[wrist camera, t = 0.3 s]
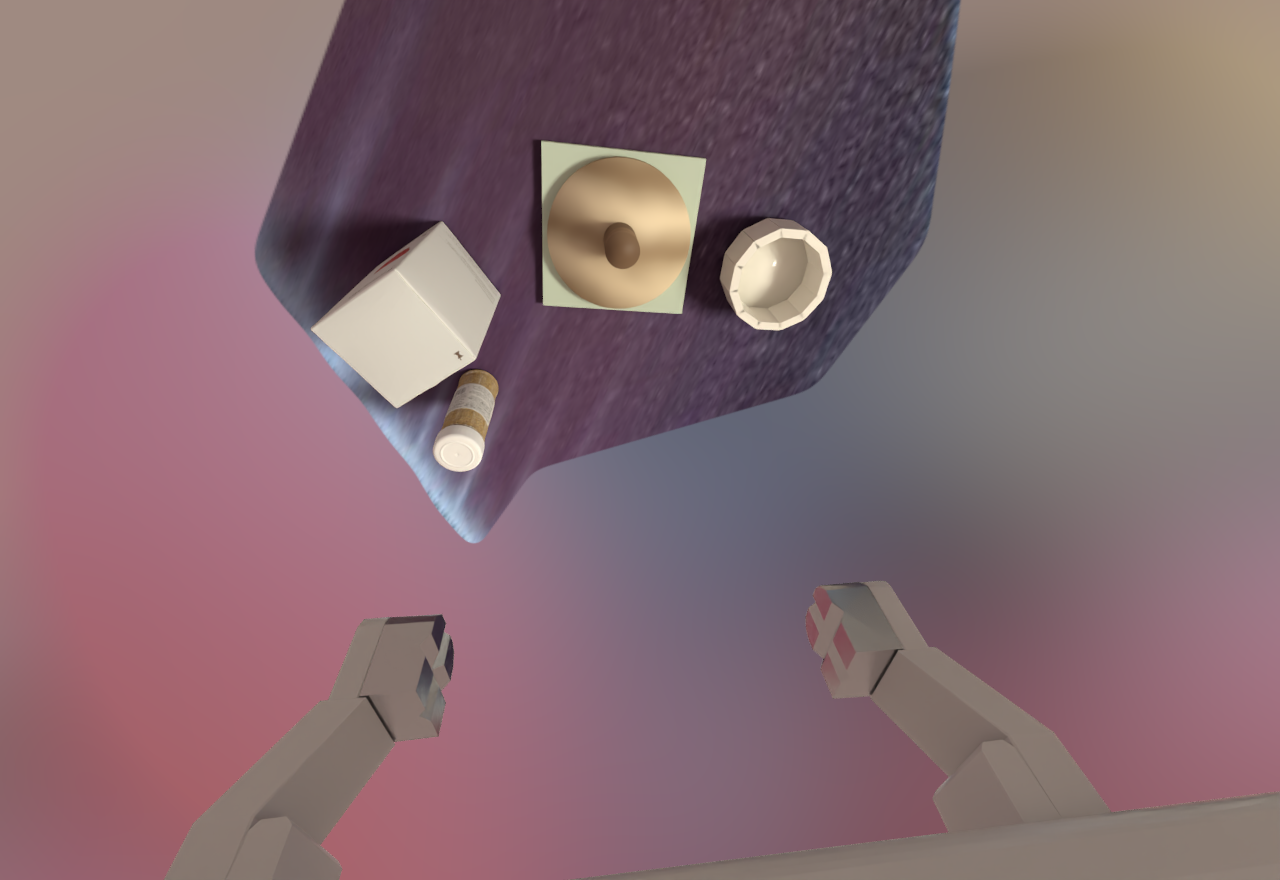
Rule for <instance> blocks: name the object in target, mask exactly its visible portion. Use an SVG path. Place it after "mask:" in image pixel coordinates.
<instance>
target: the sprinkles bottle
mask: <svg viewBox="0 0 1280 880" xmlns="http://www.w3.org/2000/svg"><path fill="white" fill-rule="evenodd" d="M497 393H498V384H497V381H496V379H495V378H494V377H493V376H492V375H491V374H489V373H488V372H486V371H483V370H470V371H468V372H466V373H465V374H463V375H462V376H461V378H460V380H459V385H458V388H457V390H456V392H455V394H454V396H453V399H452V401H451V404H450V406H449V409H448V412H447V414H446V417H445V420H444V424H443V427H442V430H441V431H440V432H439V433H438V435H437V437H436V440H435V443H434V446H433V454H434V457H435V459H436V460H437V462H438V463H439V464H440V465H442V466H443V467H445V468H447V469H449V470H452V471H468V470H471V469H473V468H475V467H476V466H477V465H478V464H479V463H480V461H481V459H482V456H483V452H484V447H485V445H484V441H485V436H486V433H487V429H488V426H489V422H490V420H491V416H492V412H493V408H494V402H495V398H496V396H497Z"/></svg>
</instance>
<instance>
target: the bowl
mask: <svg viewBox="0 0 1280 880" xmlns="http://www.w3.org/2000/svg"><path fill="white" fill-rule="evenodd" d="M831 274H832V270H831V265H830V260H829V255H828V250H827V247H826V246H825V245H824V244H823V243H821V242H820V241H819V240H818V239H817V238H816V237H815V236H814V235H813V234H812V233H810V232H809V231H808V230H807V229H805V228H804V227H802V226H801V225H799V224H798V223H796V222H795V221H793V220H784V219H774V218H766V219H764V220H762V221H760V222H758V223H756V224H754V225H752V226H750V227H748V228H746V229H744V230H743V231H741V232H740V234H739V235H738V236H737V238H736V239H735V240H734V241H733V243H732V244H731V245H730V247H729V248H728V249H727V250H726V252H725V254H724V259H723V264H722V269H721V274H720V281H721V284H722V287H723V290H724V293H725V295H726V298H727V301H728V302H729V304H730V305H731V307H732V308H733V310H734V311H735V313H736V314H737V316H739V317H740V318H741V319H743V320H744V321H745V322H747V323H748V324H750V325H751V326H752V327H754V328H755V329H765V330H782V329H784V328H787V327H789V326H791V325H793V324H796V323H798V322H800V321H803V320H804V319H805V318H806V317H807V316H808V315H809V314H810V313H811V312H812V311H813V310H814V309H815V308H816V307H817V305H818V304H819V303H820V302H821V301H822V300H823V299H824V296H825V293H826V290H827V287H828V284H829V281H830V277H831Z"/></svg>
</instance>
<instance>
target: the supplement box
mask: <svg viewBox="0 0 1280 880" xmlns="http://www.w3.org/2000/svg"><path fill="white" fill-rule="evenodd" d="M500 296H501V295H500V293H499V292H498V291H497V290H496V288H495V287H494V286H493V285H492V283H491V282H490V281H489V279H488V278H487V277H486V276H485V274H484V273H483V272H482V271H481V269H480V268H479V267H478V265H477V264H476V263H475V262H474V260H473V259H472V258H471V256H470V255H469V254H468V253H467V251H466V250H465V249H464V248H463V246H462V245H461V244H460V242H459V241H458V240H457V239H456V237H455V236H454V235H453V234H452V232H451V231H450V230H449V229H448V227H447V226H446V225H445V224H444V223H443V222H442V221H440V222H439V223H437V224H436V225H434V226H433V227H431V228H430V229H428V230H427V231H425V232H424V233H423V234H421V235H420V236H418V237H417V238H416V239H414V240H413V241H411V242H410V243H409V244H407V245H406V246H404V247H403V248H402V249H400V250H399V251H397V252H396V253H395V254H393V255H392V256H390V257H389V258H388V259H386V260H385V261H384V262H382V263H381V264H380V265H378V266H377V267H376V268H375V269H374V270H373V271H372V272H370V273H369V274H368V275H367V276H366V277H365V278H364V279H363V280H362V281H361V282H360V283H359V284H358V285H356V286H355V287H354V288H353V289H352V290H351V291H350V292H349V293H348V294H347V295H346V296H345V297H344V298H342V299H341V300H340V301H339V302H338V303H337V304H336V305H335V306H334V307H333V308H332V309H331V310H330V311H329V312H328V313H327V314H325V315H324V316H323V317H322V318H321V319H320V320H319V321H318V322H317V323H316V324H315V325H313V326H312V327H311V331H313V332H314V333H315V334H316V335H317V336H318V337H319V338H320V339H321V340H322V341H323V342H325V343H326V344H327V345H328V346H329V347H330V348H331V349H332V350H333V351H334V352H336V353H337V354H338V355H339V356H340V357H341V358H342V359H343V360H345V361H346V362H347V363H348V364H349V365H350V366H351V367H352V368H353V369H354V370H355V371H356V372H358V373H359V374H360V375H361V376H362V377H363V378H364V379H365V380H366V381H367V382H368V383H369V384H370V385H371V386H372V387H373V388H374V389H376V390H377V391H378V392H379V393H380V394H381V395H382V396H383V397H384V398H385V399H386V400H387V401H389V402H390V403H391V404H392V405H393V406H394V407H395V408H399V407H400V406H402V405H403V404H405V403H407V402H408V401H410V400H411V399H413V398H415V397H416V396H418V395H419V394H421V393H423V392H424V391H426V390H428V389H429V388H432V387H434V386H435V385H437V384H438V383H440V382H441V381H442V380H444V379H445V378H447V377H448V376H450V375H452V374H453V373H455V372H457V371H458V370H460V369H461V368H463V367H465V366H466V365H468V364H469V363H471V362H473V361H474V360H475V359H476V357H477V355H478V352H479V349H480V347H481V344H482V342H483V339H484V337H485V334H486V332H487V329H488V326H489V324H490V322H491V319H492V316H493V314H494V311H495V309H496V306H497V303H498V301H499V298H500Z"/></svg>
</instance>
